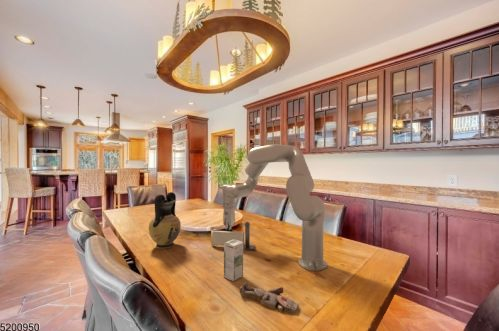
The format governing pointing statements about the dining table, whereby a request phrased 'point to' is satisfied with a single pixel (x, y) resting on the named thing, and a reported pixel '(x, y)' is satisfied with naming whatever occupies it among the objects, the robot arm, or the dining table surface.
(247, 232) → the gate post
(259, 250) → the dining table surface
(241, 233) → the gate leaf
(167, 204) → the amphora
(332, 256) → the dining table surface
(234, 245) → the syrup box
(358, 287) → the dining table surface
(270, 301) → the figurine
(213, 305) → the dining table surface
